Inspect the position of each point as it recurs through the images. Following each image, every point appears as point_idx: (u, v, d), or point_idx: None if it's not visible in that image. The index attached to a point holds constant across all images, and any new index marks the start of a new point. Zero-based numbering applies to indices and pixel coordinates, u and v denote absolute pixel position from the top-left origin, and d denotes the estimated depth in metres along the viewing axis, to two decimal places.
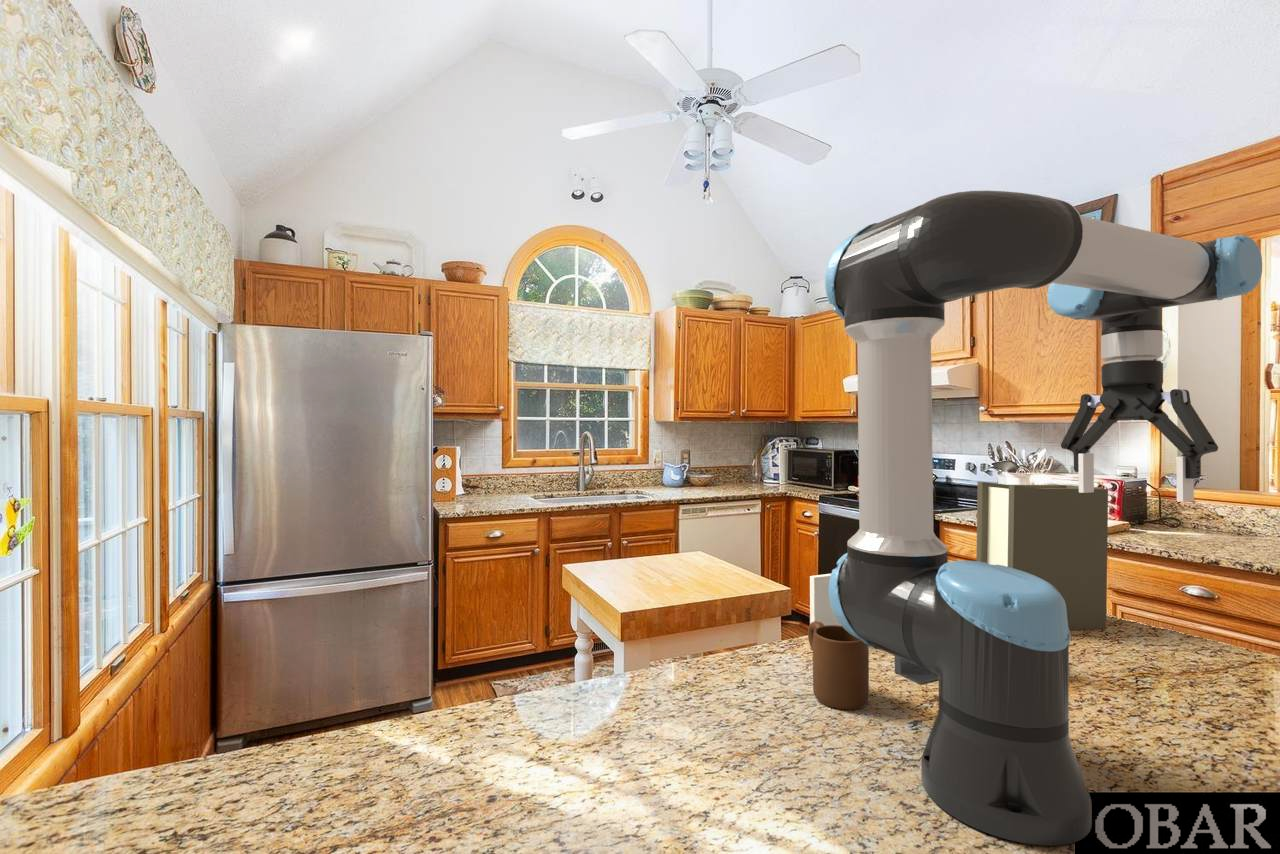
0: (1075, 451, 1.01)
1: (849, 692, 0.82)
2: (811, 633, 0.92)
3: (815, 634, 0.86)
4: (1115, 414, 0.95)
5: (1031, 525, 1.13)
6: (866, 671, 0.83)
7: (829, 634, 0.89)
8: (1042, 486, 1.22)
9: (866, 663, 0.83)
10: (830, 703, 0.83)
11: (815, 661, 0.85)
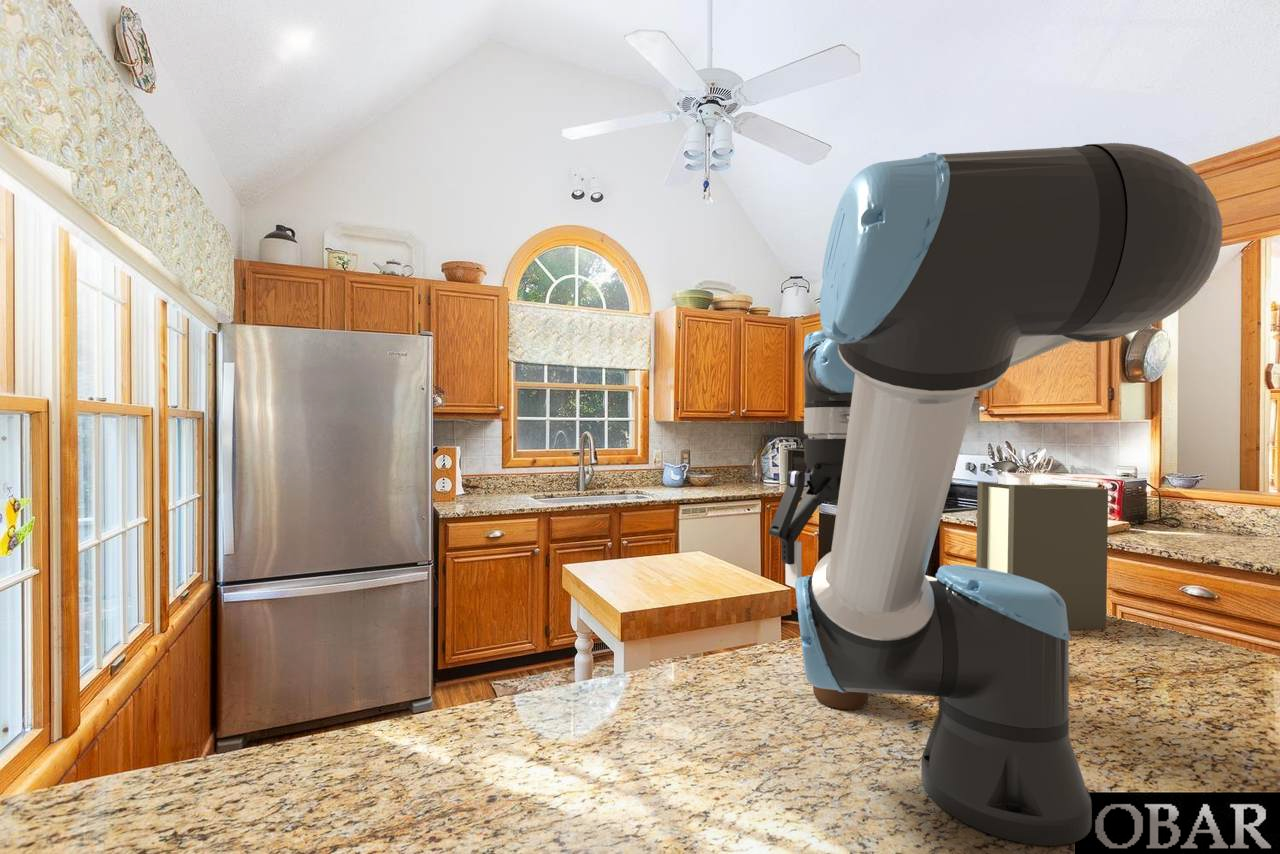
0: None
1: (849, 692, 0.82)
2: None
3: None
4: None
5: (1031, 525, 1.13)
6: None
7: None
8: (1042, 486, 1.22)
9: None
10: (830, 703, 0.83)
11: None
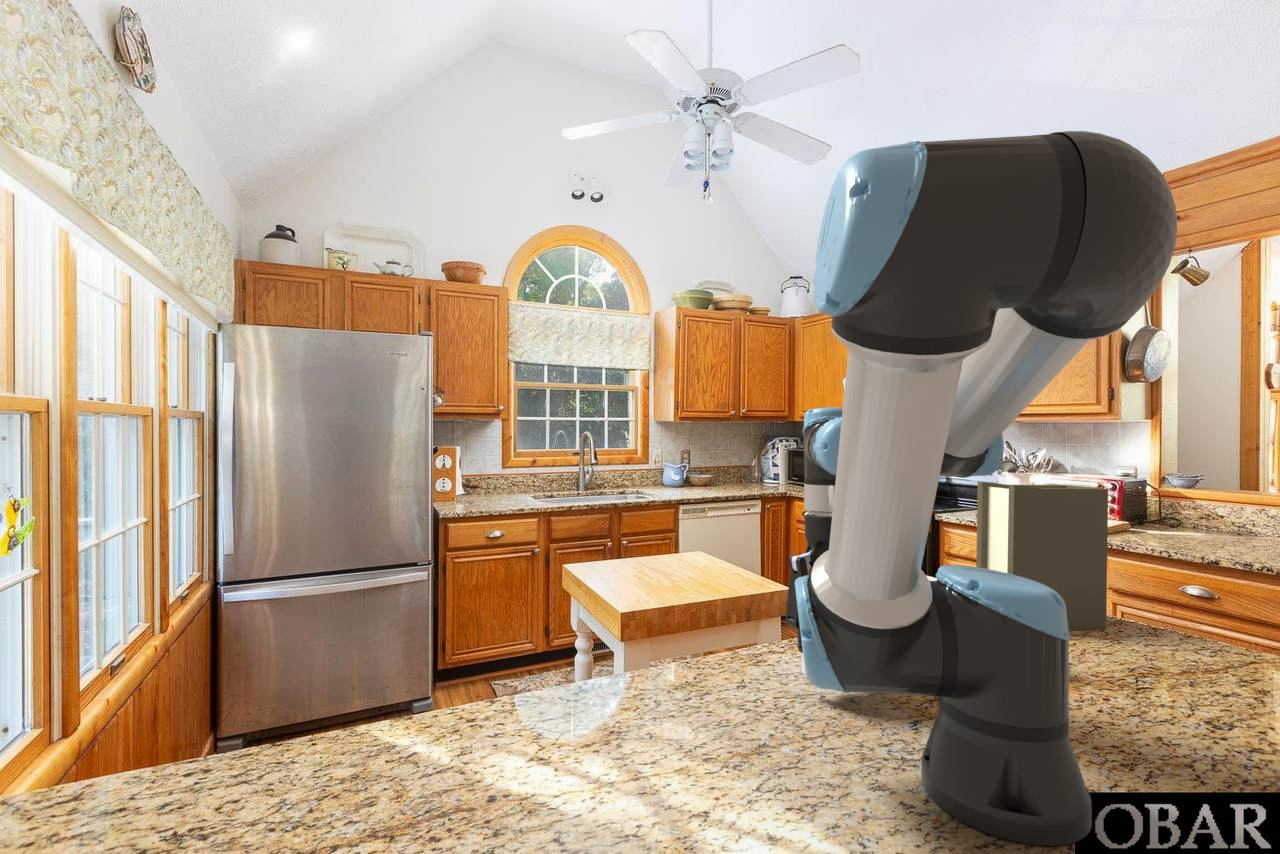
0: None
1: None
2: None
3: None
4: None
5: (1031, 525, 1.13)
6: None
7: None
8: (1042, 486, 1.22)
9: None
10: None
11: None
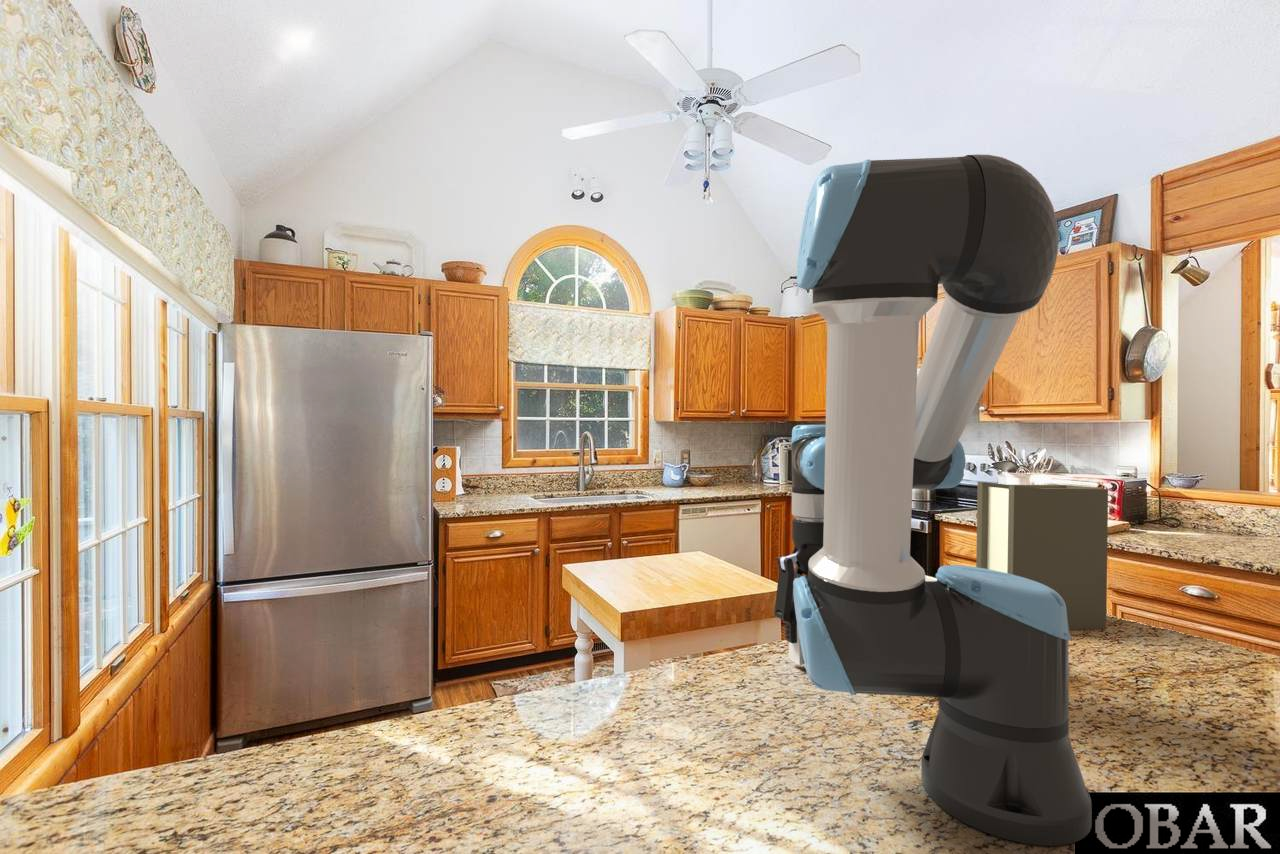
0: None
1: None
2: None
3: None
4: None
5: (1031, 525, 1.13)
6: None
7: None
8: (1042, 486, 1.22)
9: None
10: None
11: None
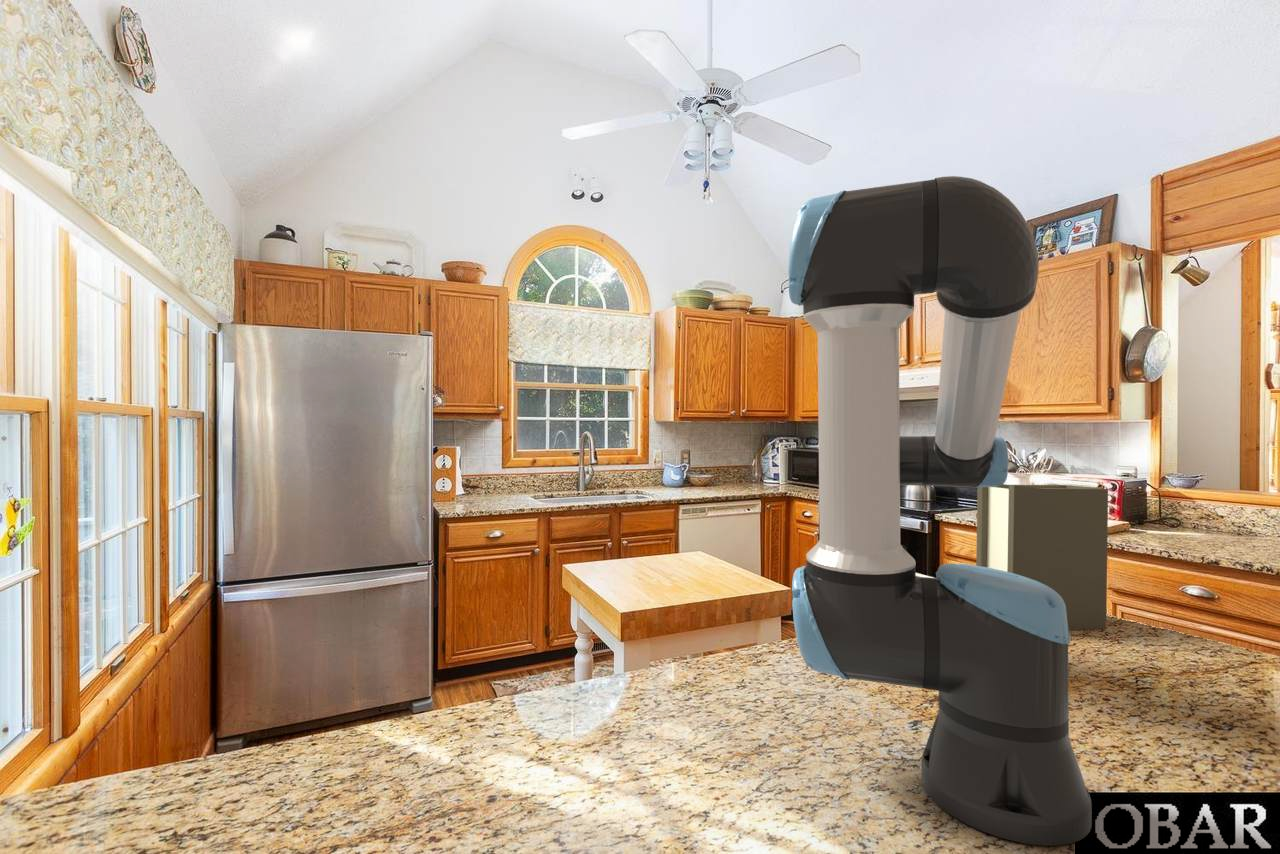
0: None
1: None
2: None
3: None
4: None
5: (1031, 525, 1.13)
6: None
7: None
8: (1042, 486, 1.22)
9: None
10: None
11: None
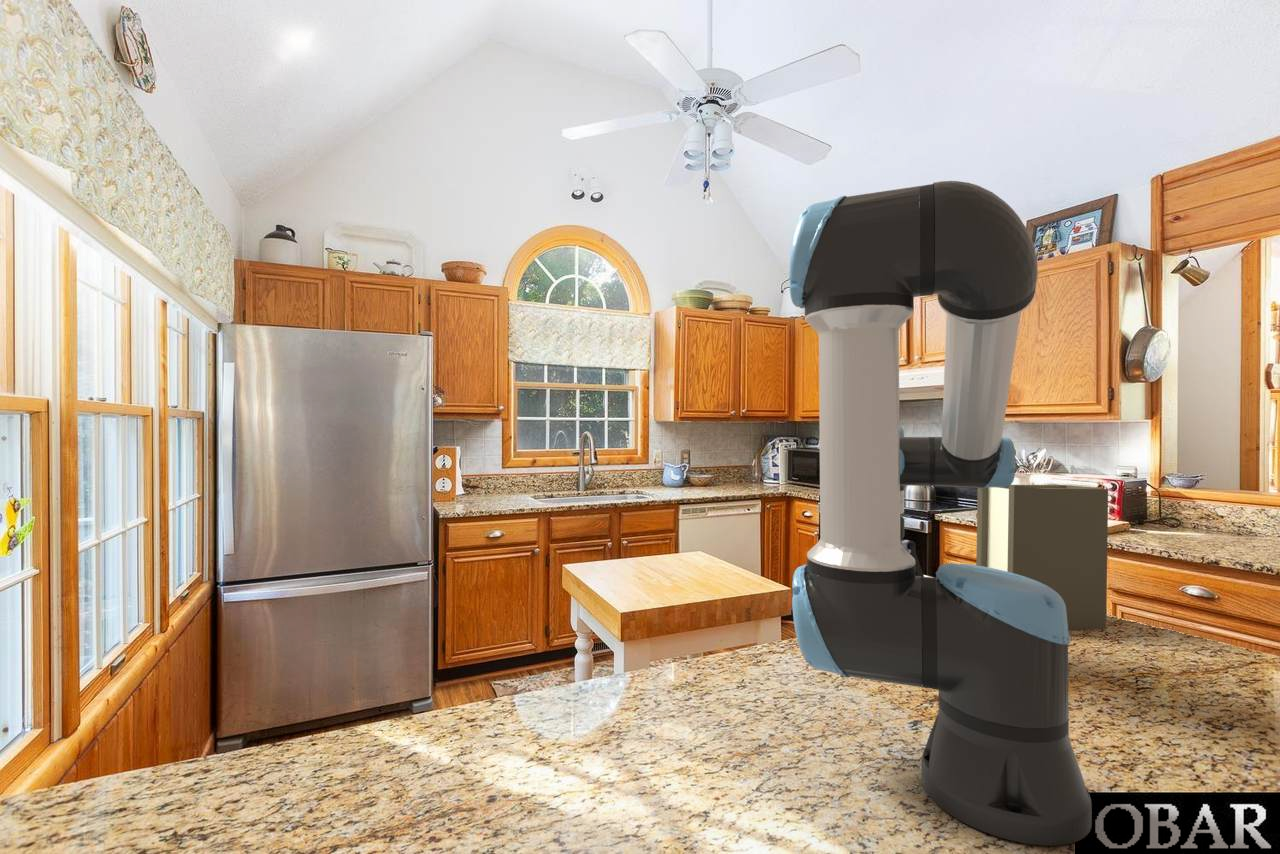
0: None
1: None
2: None
3: None
4: None
5: (1031, 525, 1.13)
6: None
7: None
8: (1042, 486, 1.22)
9: None
10: None
11: None
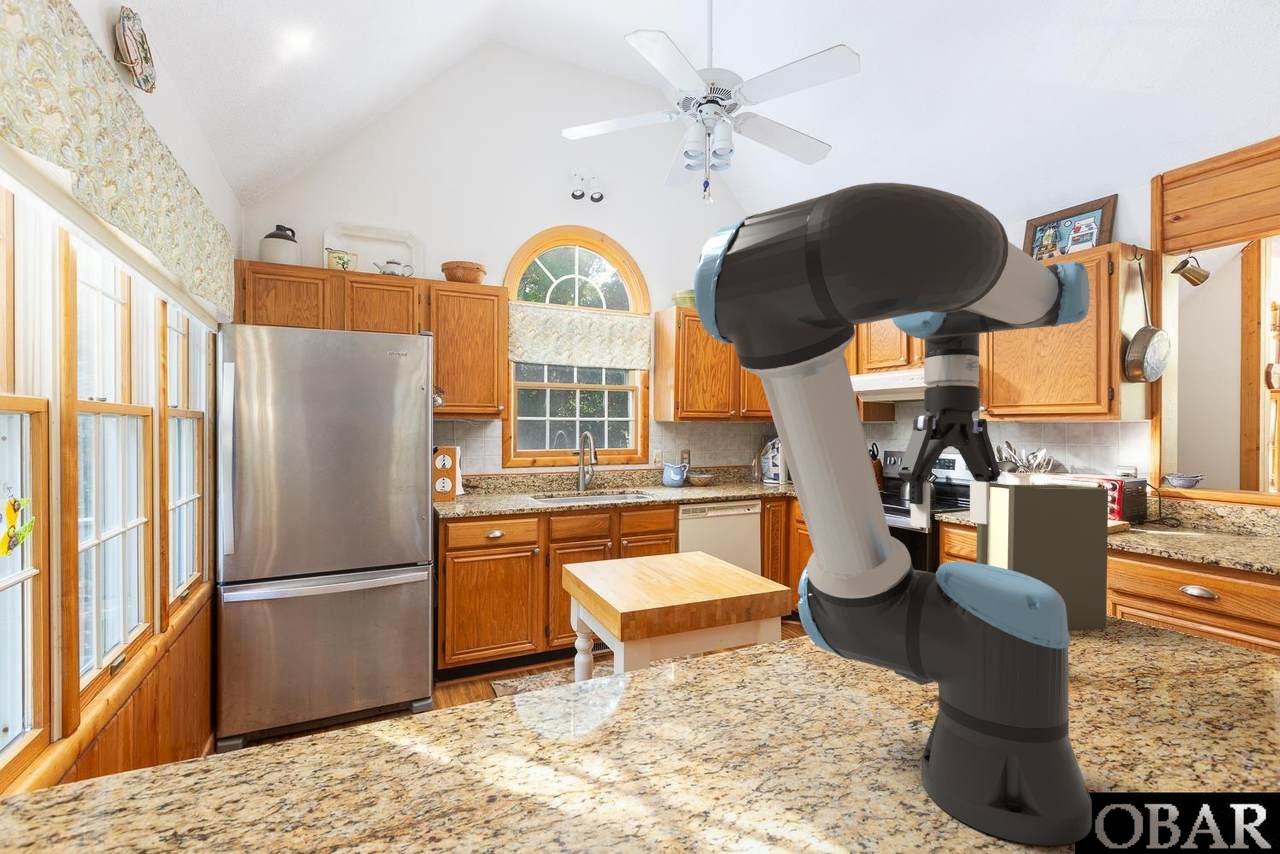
0: None
1: None
2: None
3: None
4: None
5: (1031, 525, 1.13)
6: None
7: None
8: (1042, 486, 1.22)
9: None
10: None
11: None
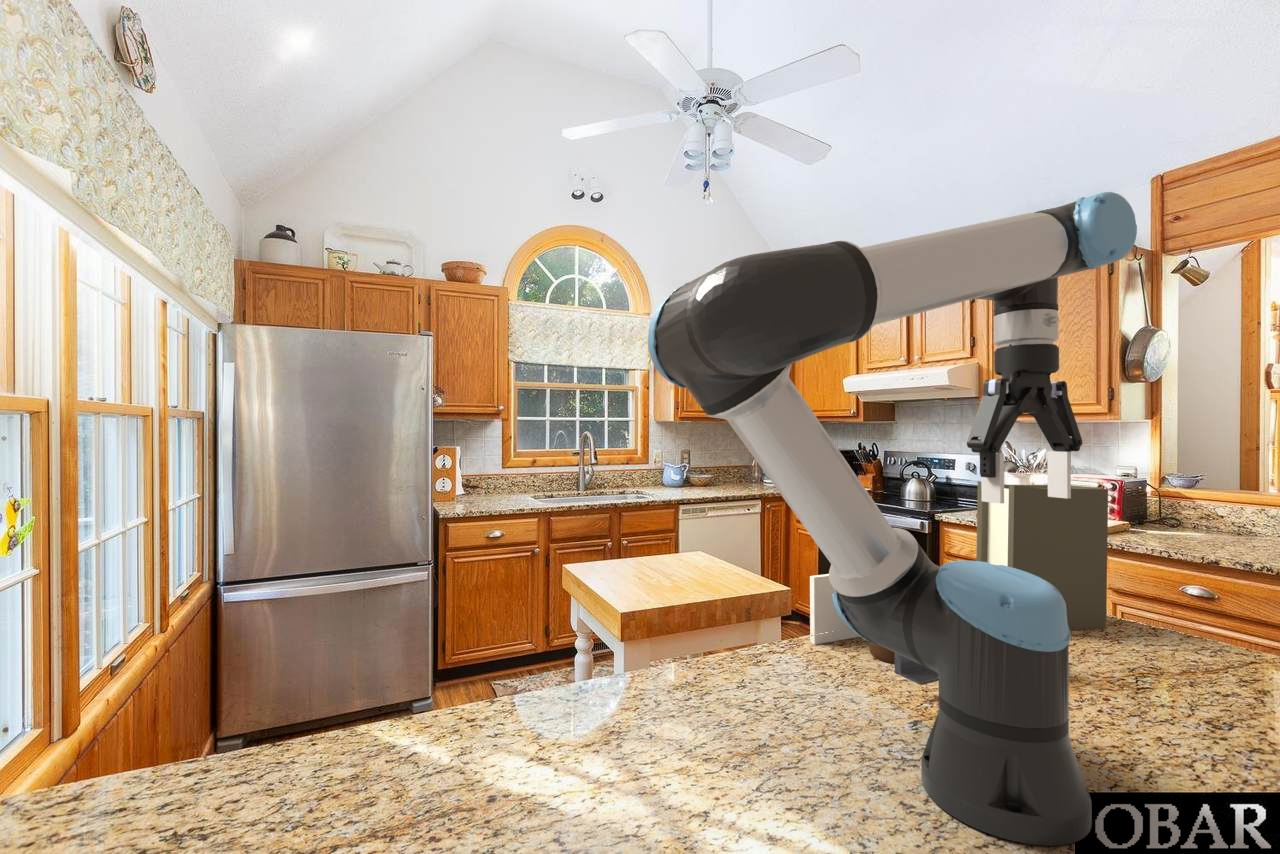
0: None
1: None
2: None
3: None
4: None
5: (1031, 525, 1.13)
6: None
7: None
8: (1042, 486, 1.22)
9: None
10: (886, 659, 0.99)
11: None
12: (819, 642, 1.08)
